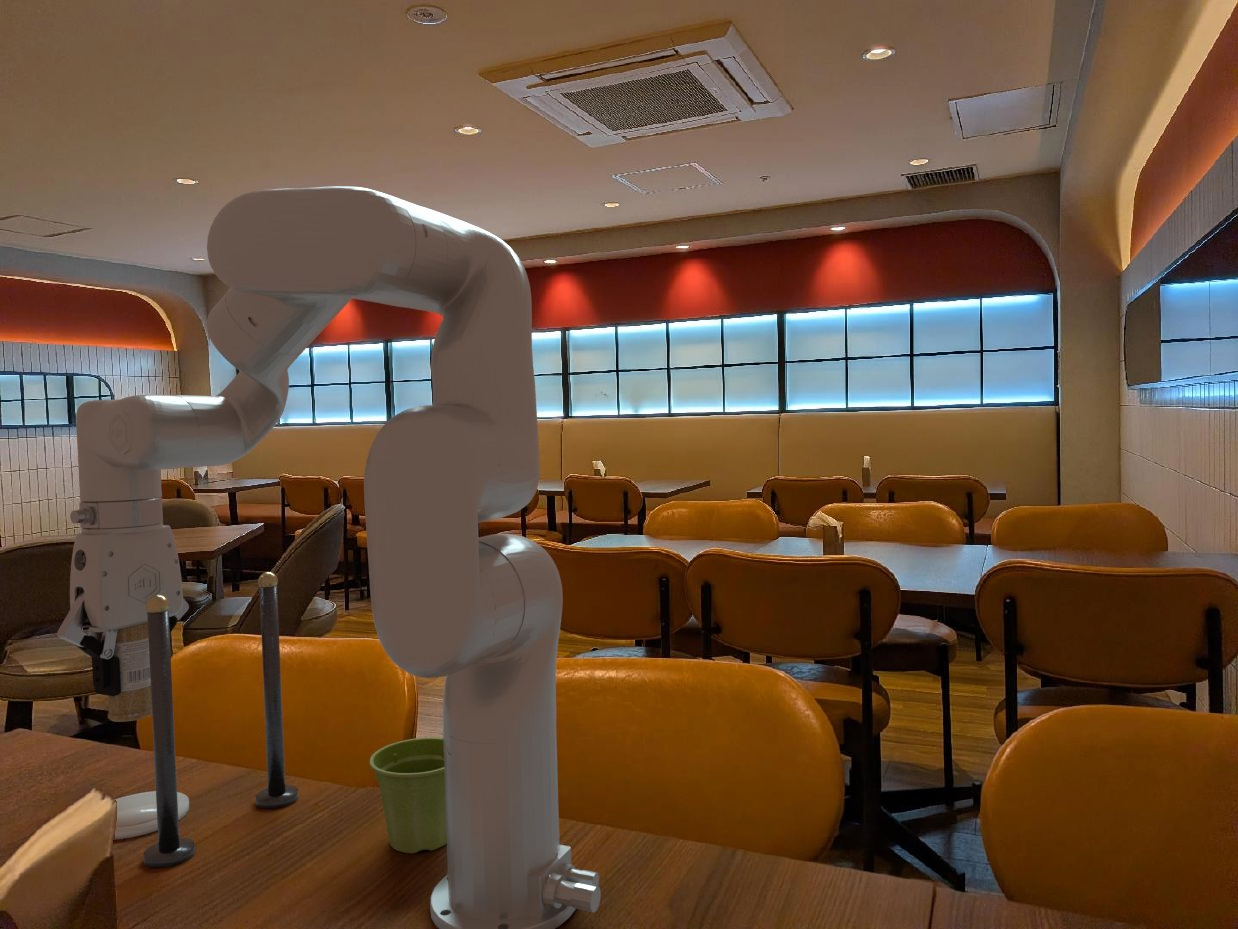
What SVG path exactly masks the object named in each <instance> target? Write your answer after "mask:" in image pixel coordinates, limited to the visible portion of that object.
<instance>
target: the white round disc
mask: <svg viewBox="0 0 1238 929" xmlns="http://www.w3.org/2000/svg"><path fill="white" fill-rule="evenodd" d="M114 800H116V801H117V822H116V830H115V839H114V840H123V839H124V838H125V839H131V838H136V837H140V836H144V835H147V834H151V833H154V832H158V825H157V804H156V790H153V791H145V792H139V793H134V794H130V795H126V796H122V797H118V798H115V799H114ZM177 800H178V821H180V820H182V819H183V818H184V817H185V816H186V815H187V814H188V813H189V811H190V798H189V797H188V796H187V795H186V794H184V793H182V792H179V791H177Z"/></svg>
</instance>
